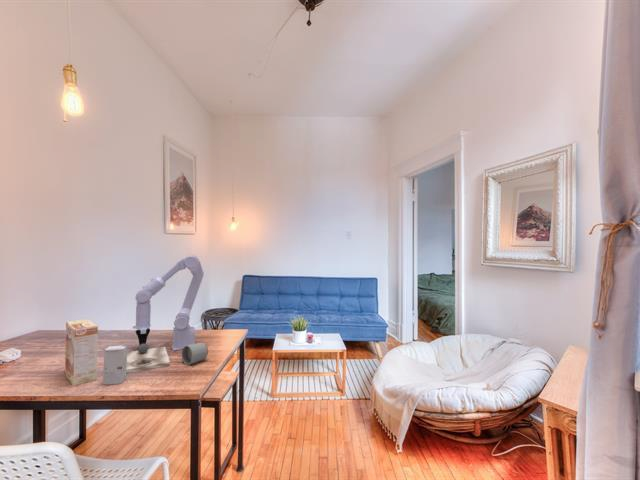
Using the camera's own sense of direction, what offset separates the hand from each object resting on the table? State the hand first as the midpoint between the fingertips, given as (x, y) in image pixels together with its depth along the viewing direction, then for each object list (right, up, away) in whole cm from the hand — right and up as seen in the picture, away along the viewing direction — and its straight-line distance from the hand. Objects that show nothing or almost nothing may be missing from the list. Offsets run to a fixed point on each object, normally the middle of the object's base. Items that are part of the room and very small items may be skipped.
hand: (142, 345), depth 138 cm
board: (+7, -2, -12) cm, 14 cm away
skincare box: (+9, -2, -31) cm, 32 cm away
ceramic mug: (+28, -3, -11) cm, 30 cm away
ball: (+4, +1, -7) cm, 8 cm away
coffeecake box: (-7, -2, -27) cm, 28 cm away
